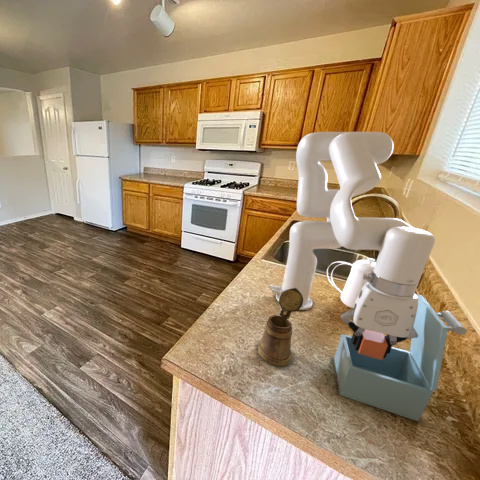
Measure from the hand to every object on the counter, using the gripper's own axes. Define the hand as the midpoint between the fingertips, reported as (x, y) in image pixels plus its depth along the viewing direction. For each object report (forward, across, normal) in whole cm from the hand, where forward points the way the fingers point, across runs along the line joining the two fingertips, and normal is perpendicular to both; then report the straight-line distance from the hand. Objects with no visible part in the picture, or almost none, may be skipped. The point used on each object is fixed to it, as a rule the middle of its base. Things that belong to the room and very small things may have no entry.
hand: (368, 349), depth 64 cm
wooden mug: (+11, -19, +3) cm, 22 cm away
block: (0, 0, 0) cm, 0 cm away
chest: (+11, +3, 0) cm, 11 cm away
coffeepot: (+11, +7, +41) cm, 43 cm away
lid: (-6, +9, 0) cm, 11 cm away
